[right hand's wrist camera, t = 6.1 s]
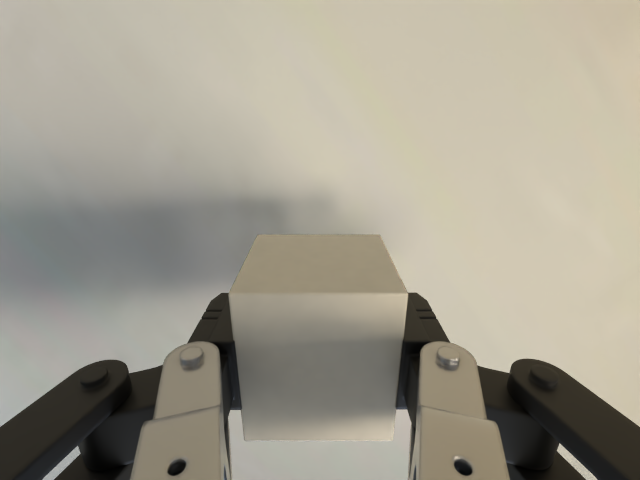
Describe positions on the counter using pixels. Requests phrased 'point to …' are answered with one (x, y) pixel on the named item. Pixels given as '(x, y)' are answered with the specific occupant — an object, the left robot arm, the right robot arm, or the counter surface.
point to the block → (318, 338)
